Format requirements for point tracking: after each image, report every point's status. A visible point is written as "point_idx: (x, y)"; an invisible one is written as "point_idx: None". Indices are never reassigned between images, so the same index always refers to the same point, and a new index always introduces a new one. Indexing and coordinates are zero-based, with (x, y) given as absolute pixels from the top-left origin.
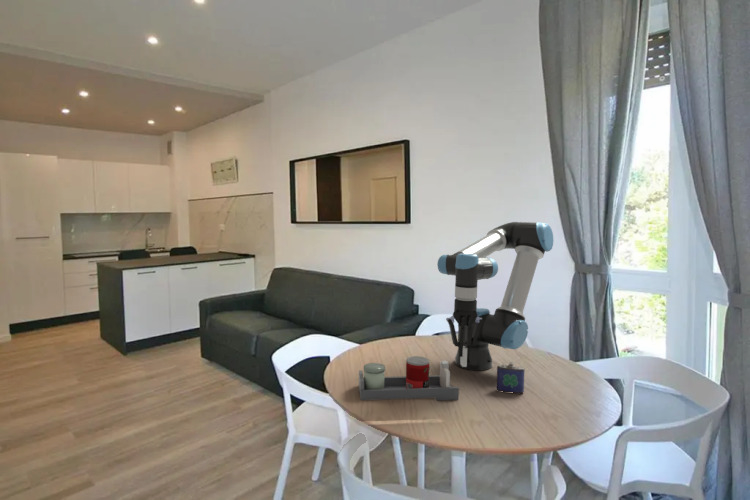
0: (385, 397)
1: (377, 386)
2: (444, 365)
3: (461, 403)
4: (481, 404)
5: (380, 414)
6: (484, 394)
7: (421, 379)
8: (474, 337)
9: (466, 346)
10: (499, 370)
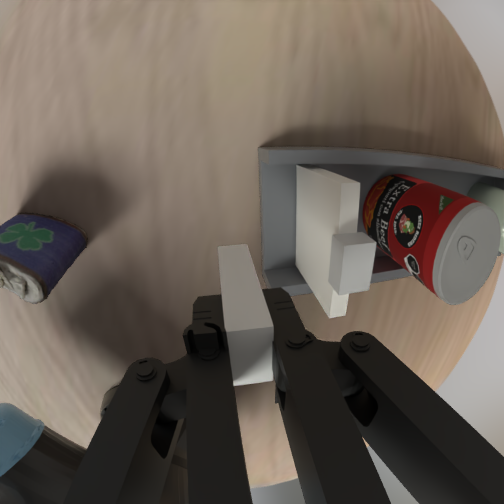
0: (472, 162)
1: (497, 189)
2: (364, 238)
3: (254, 112)
4: (173, 103)
5: (474, 96)
6: (137, 199)
7: (430, 185)
8: (131, 446)
9: (230, 360)
10: (43, 269)
